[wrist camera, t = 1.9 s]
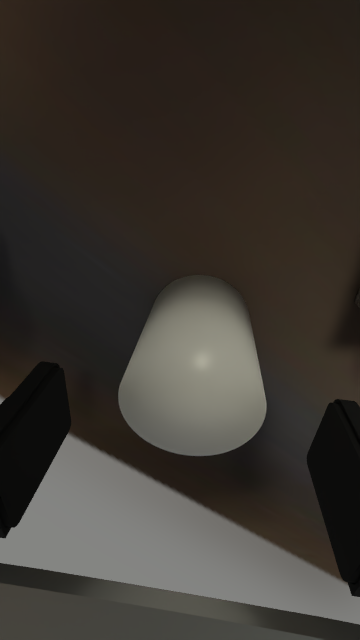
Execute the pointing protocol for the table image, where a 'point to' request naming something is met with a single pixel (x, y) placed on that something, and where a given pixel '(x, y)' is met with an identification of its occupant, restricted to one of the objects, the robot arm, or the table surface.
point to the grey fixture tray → (357, 298)
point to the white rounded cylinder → (195, 371)
